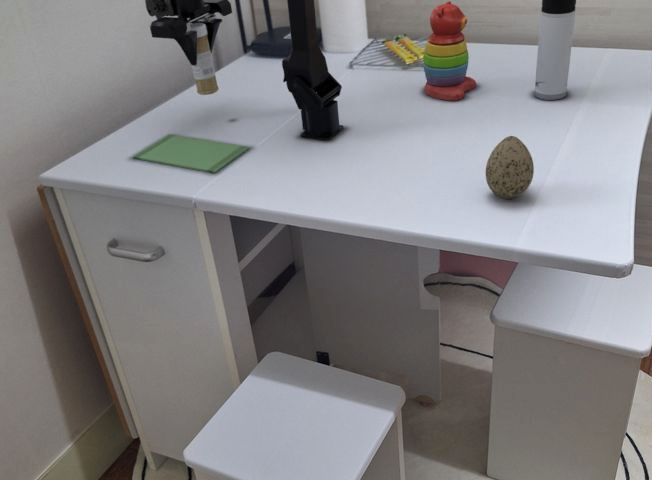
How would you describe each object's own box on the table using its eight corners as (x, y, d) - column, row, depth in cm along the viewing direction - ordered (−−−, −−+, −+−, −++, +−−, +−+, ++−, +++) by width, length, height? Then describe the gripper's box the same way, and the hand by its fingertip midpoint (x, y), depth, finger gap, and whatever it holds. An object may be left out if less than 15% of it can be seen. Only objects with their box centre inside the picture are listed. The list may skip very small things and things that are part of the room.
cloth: (249, 148, 133) (248, 146, 133) (214, 173, 125) (214, 171, 125) (169, 136, 142) (168, 134, 141) (132, 158, 134) (132, 156, 134)
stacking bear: (459, 102, 142) (460, 12, 132) (414, 96, 147) (413, 9, 137) (479, 84, 150) (482, -2, 140) (436, 80, 155) (435, -4, 144)
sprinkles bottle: (216, 86, 146) (203, 20, 138) (221, 92, 142) (207, 25, 135) (195, 91, 145) (180, 25, 137) (199, 97, 141) (184, 30, 134)
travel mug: (531, 100, 140) (540, -4, 128) (536, 88, 145) (544, -13, 133) (564, 101, 138) (575, -4, 126) (567, 90, 143) (579, -13, 131)
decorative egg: (477, 190, 111) (479, 132, 105) (518, 182, 112) (522, 124, 106) (496, 210, 105) (499, 150, 100) (539, 202, 106) (545, 141, 100)
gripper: (183, -32, 141) (198, 45, 150) (119, -10, 128) (140, 73, 137) (226, -32, 136) (240, 48, 145) (164, -9, 123) (183, 78, 132)
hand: (201, 61), depth 140 cm, fingers closed on sprinkles bottle, 4 cm apart
